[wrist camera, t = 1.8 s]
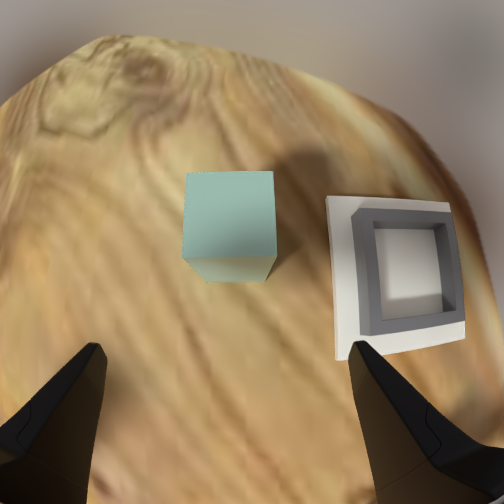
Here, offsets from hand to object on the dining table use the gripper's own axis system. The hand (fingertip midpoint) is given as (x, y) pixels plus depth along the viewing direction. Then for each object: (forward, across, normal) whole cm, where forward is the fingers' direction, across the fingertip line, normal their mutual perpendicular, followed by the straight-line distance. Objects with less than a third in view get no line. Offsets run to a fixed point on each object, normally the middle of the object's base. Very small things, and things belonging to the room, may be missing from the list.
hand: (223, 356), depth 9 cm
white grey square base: (+12, -14, +6) cm, 19 cm away
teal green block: (+13, 0, +4) cm, 14 cm away
